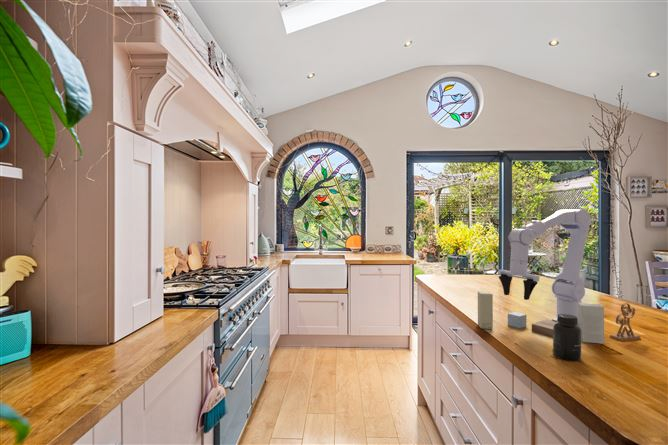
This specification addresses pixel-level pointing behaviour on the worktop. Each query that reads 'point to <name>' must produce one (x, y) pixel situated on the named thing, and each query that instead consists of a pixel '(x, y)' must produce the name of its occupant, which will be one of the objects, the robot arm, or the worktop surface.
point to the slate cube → (517, 319)
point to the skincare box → (591, 322)
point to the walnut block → (544, 327)
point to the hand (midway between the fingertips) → (516, 297)
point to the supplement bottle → (567, 338)
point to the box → (485, 310)
